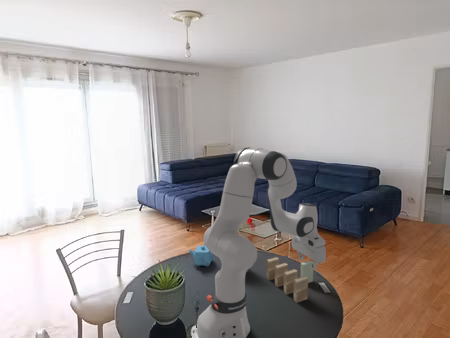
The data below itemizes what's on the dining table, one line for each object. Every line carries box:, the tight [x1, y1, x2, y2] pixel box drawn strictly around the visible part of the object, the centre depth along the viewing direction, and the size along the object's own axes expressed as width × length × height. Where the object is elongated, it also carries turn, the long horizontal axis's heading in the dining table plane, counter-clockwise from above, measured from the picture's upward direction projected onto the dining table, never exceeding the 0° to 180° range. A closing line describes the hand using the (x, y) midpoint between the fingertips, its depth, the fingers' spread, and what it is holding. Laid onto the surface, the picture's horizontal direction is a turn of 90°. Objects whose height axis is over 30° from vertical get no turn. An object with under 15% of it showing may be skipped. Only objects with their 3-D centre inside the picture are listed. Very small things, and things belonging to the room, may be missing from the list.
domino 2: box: [274, 262, 289, 288], centre depth 146 cm, size 2×6×10 cm, turn 116°
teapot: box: [188, 244, 215, 268], centre depth 170 cm, size 18×14×10 cm
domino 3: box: [283, 268, 298, 295], centre depth 140 cm, size 2×6×10 cm, turn 116°
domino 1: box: [266, 256, 280, 281], centre depth 152 cm, size 2×6×10 cm, turn 116°
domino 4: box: [293, 276, 309, 304], centre depth 133 cm, size 2×6×10 cm, turn 116°
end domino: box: [300, 259, 314, 284], centre depth 147 cm, size 2×6×10 cm, turn 116°
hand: (307, 263), depth 147 cm, fingers open, 8 cm apart
